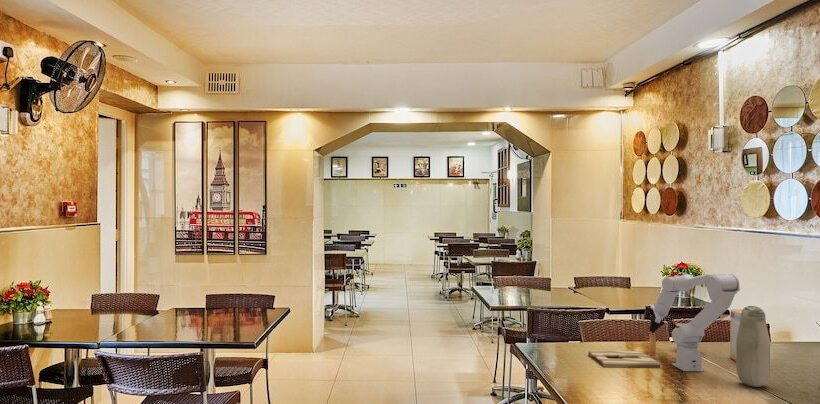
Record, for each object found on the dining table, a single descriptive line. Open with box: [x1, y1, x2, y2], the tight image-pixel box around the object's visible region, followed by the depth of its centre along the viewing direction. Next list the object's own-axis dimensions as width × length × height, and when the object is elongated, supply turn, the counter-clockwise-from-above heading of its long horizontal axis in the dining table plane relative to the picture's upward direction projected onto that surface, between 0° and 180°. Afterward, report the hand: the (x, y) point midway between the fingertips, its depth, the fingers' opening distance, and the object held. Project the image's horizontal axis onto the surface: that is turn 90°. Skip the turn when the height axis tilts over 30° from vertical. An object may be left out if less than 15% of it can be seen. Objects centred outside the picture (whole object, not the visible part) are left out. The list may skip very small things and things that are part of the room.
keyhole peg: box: [646, 334, 660, 359], centre depth 233 cm, size 5×5×9 cm
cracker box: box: [729, 308, 743, 363], centre depth 226 cm, size 14×6×21 cm, turn 168°
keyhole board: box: [587, 350, 661, 369], centre depth 225 cm, size 18×22×2 cm
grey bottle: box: [735, 305, 771, 388], centre depth 196 cm, size 10×10×28 cm
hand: (653, 326), depth 236 cm, fingers open, 7 cm apart
